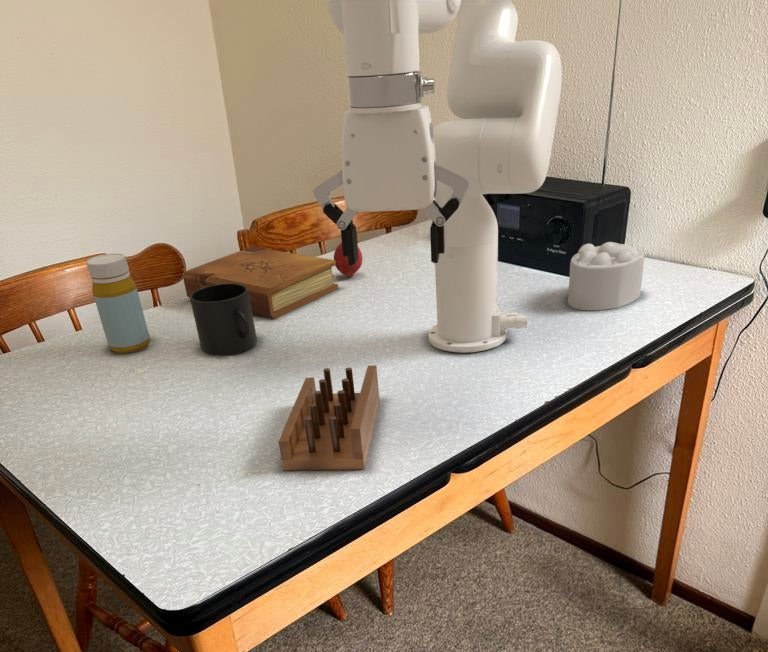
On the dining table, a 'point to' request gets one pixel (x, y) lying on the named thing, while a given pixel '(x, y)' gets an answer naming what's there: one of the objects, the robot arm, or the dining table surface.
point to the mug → (224, 318)
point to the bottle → (118, 303)
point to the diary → (268, 278)
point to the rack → (331, 424)
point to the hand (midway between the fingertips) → (394, 261)
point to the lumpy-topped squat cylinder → (605, 276)
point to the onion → (346, 262)
